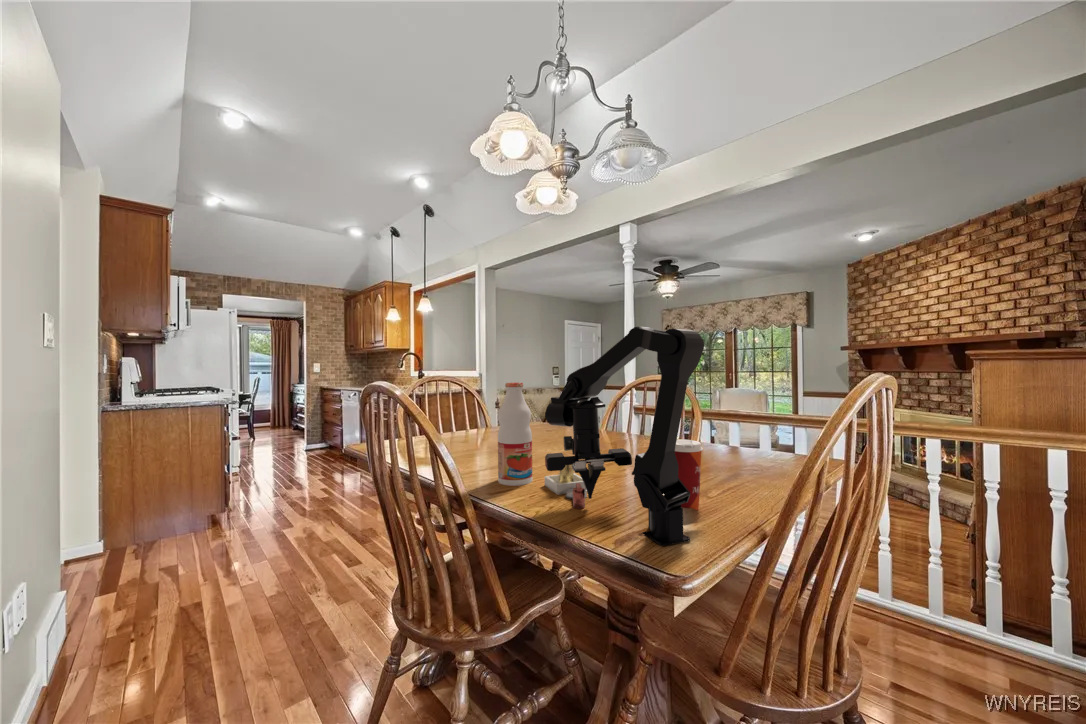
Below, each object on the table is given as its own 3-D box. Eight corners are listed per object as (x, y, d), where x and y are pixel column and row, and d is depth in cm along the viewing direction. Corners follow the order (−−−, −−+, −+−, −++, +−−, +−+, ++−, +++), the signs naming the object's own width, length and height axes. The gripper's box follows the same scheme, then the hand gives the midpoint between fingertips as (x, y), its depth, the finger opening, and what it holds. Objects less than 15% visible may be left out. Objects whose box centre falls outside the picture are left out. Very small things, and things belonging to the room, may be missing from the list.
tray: (588, 490, 107) (588, 481, 107) (557, 495, 104) (556, 484, 104) (574, 482, 115) (574, 472, 115) (544, 485, 112) (544, 476, 112)
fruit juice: (517, 478, 124) (516, 381, 124) (539, 484, 117) (538, 382, 117) (491, 484, 117) (490, 383, 117) (512, 492, 110) (511, 384, 110)
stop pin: (575, 486, 109) (576, 459, 109) (563, 488, 107) (564, 461, 107) (567, 482, 112) (568, 456, 112) (556, 484, 110) (557, 457, 110)
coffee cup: (709, 514, 92) (708, 445, 92) (671, 514, 93) (670, 445, 93) (696, 501, 101) (695, 438, 101) (661, 502, 101) (660, 438, 101)
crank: (565, 493, 105) (565, 473, 105) (585, 492, 105) (585, 473, 105) (568, 509, 93) (568, 487, 93) (591, 509, 93) (590, 487, 93)
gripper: (617, 421, 104) (621, 485, 104) (541, 426, 102) (544, 491, 102) (630, 427, 93) (634, 498, 93) (545, 432, 91) (549, 505, 91)
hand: (589, 498), depth 95 cm, fingers closed
